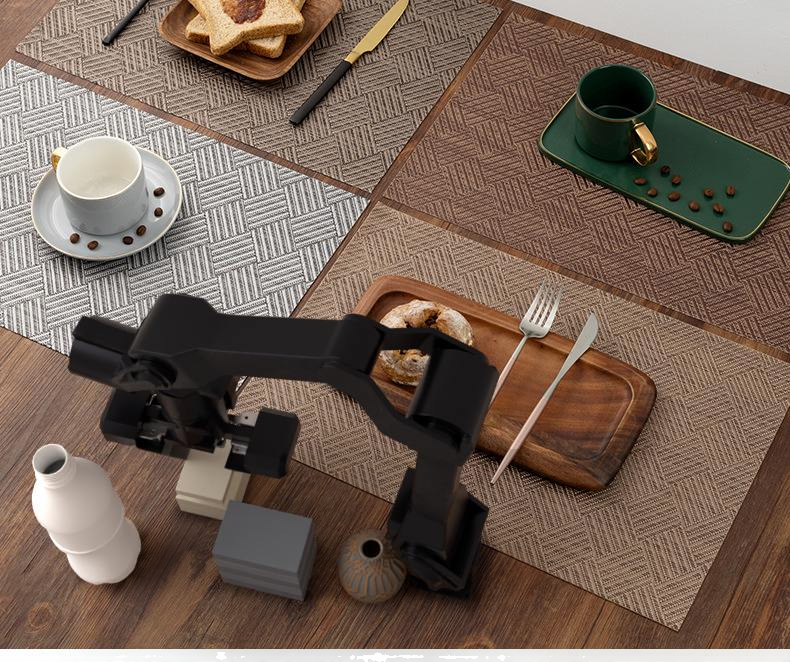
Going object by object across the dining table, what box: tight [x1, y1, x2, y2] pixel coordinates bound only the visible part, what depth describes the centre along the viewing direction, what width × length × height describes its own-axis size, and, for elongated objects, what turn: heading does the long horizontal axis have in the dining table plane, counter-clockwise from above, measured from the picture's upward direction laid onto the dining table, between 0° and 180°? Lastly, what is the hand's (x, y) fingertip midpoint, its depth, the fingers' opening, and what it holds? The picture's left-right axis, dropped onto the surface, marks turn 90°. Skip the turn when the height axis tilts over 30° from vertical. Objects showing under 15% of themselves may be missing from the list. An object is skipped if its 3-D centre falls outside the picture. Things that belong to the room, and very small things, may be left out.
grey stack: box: [211, 500, 319, 602], centre depth 113 cm, size 8×6×9 cm, turn 77°
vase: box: [337, 528, 408, 604], centre depth 113 cm, size 7×7×9 cm
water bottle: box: [31, 443, 142, 586], centre depth 107 cm, size 7×7×25 cm
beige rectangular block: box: [175, 472, 252, 521], centre depth 120 cm, size 6×8×4 cm
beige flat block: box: [175, 438, 234, 505], centre depth 117 cm, size 8×5×1 cm, turn 167°
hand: (212, 461), depth 117 cm, fingers closed on beige flat block, 5 cm apart
